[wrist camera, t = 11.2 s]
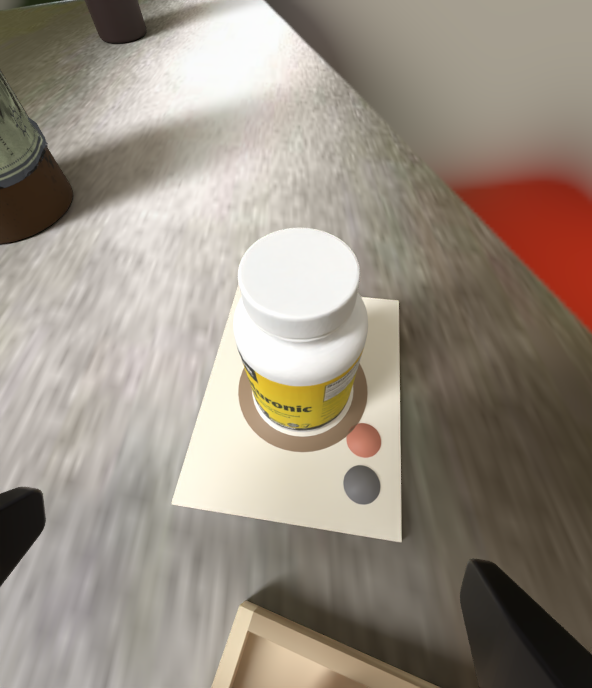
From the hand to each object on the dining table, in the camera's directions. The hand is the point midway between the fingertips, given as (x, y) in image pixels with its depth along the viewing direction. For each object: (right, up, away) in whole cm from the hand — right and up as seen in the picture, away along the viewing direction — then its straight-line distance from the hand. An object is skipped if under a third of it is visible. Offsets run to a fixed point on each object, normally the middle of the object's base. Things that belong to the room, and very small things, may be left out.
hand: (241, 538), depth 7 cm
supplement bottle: (+1, +1, +12) cm, 13 cm away
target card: (+2, +1, +13) cm, 13 cm away
